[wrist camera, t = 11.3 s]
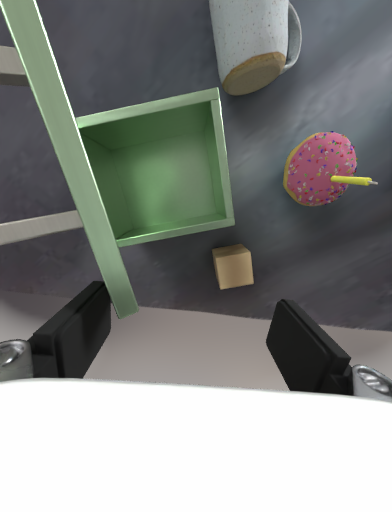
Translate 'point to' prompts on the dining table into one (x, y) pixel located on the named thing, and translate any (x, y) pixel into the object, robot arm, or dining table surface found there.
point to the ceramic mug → (254, 42)
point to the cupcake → (321, 169)
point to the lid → (60, 150)
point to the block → (233, 266)
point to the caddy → (161, 167)
